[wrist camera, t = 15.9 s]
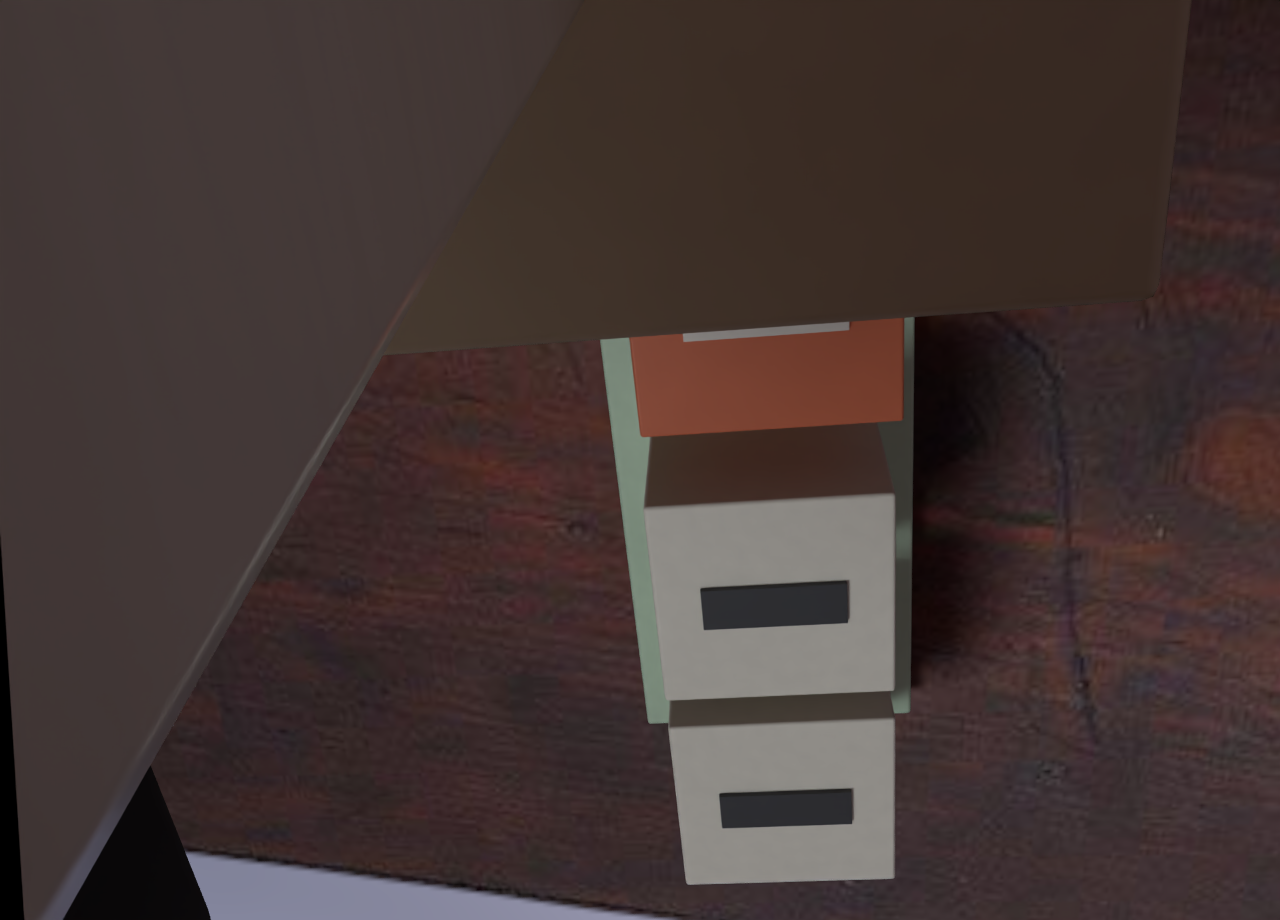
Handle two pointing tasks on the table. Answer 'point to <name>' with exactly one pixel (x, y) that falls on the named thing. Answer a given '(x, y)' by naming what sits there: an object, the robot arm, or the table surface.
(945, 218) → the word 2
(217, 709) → the table surface
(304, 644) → the table surface
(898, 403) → the red block
